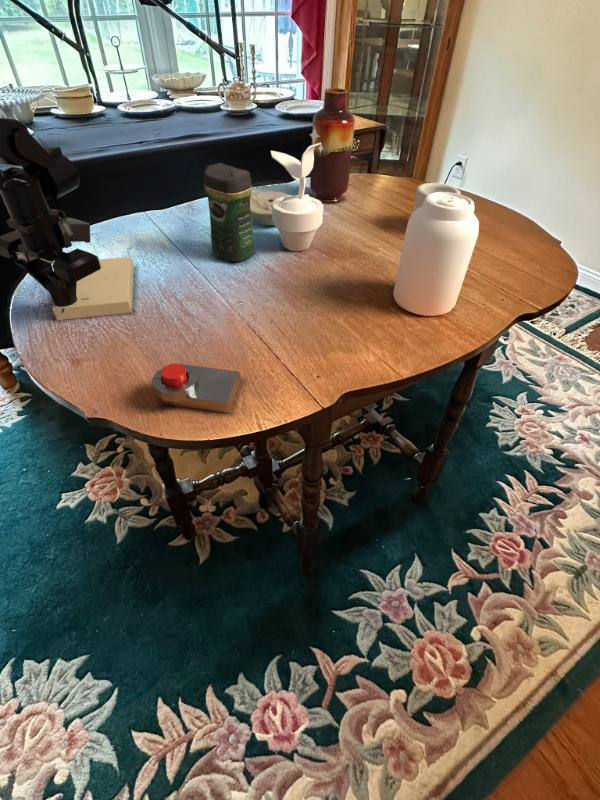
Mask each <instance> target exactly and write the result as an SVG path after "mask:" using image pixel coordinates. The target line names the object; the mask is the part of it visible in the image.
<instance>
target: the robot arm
mask: <svg viewBox="0 0 600 800" xmlns="http://www.w3.org/2000/svg"><path fill="white" fill-rule="evenodd" d="M0 165H9V166H10V167H8V168H5V169H0V195H1V198H2V199H3V200H2V201H3V203H4V205H5V207H6V209H7V212H8V214H9V216H10V218H9V219H6V223H7V226H8V227H9V228H11V229H13V231H10V232H7V233H5V234H3V235H0V256H2V257H4V258H7V259H9V260H10V259H12V258H13V257H14V254H16V257H17V259H15V260H14V263H15V264H16V265H17V266H19V268H21V269H22V270H23V271H24V272H25V273H27V274H28V275H29V276H30V277H31V278H33V279H34V280H35V281H36V282H37V283H38V284H39V285H40V286H42V288H44V289H45V290H46V291H47V292H48V293H49V291H48V288H47V286H46V281H47V280H48V279H50V280H51V281H52V282H53V283H54V285H55V286H56V287H57V288H58V290H59V291H60V292H61V293H62V294H63V296H64V297H65V298H66V299H67V300H68V301H69V302H70V303H73V302H75V301H76V287H77V281H79V280H81V279H83V278H85V277H87V276H88V275H90V274H92V273H94V272H96V271H98V270H100V269H101V265H100V262H99V259H100V258H99V256H98V255H96V254H94V253H92V252H90V251H86V250H84V249H81V248H75V249H73V250H71V251H69V252H65V251H64V249H68V248H71V247H73V243H81V242H82V243H86V244H89V243H91V223H90V222H86V221H83V220H81V219H76V218H73V217H69V216H68V217H67V215H66V212H64V211H62V210H59V209H51V208H50V205H49V202H52V201H56V200H57V199H59V198H61V197H63V196H65V195H66V194H68V193H71V192H72V191H74V190H76V189H78V187H79V186H80V183H81V174H80V172H79V170H78V168H77V167H76V165H75V164H74V163H73V162H72V160H70V159H69V157H67V156H66V155H64V154H63V152H62V148H61V147H60V146H57V145H55V146H54V145H48V146H44V147H43V146H42V145H41V144H40V143H39V142H38V141H37V140H36V138H35V137H34V136H33V135H32V134H31V133H30V131H29V129H28V126H27V125H26V124H25V123H23V122H22V121H21V120H19V119H15V118H7V117H0ZM21 167H22V168H21ZM48 201H49V202H48Z"/></svg>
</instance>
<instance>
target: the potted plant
mask: <svg viewBox="0 0 600 800" xmlns="http://www.w3.org/2000/svg"><path fill="white" fill-rule="evenodd" d="M308 135H309V136H310V137H311V140H312V139H313V145H312V144H311V145H309V146H308V147H307V148H306V150H305V151H303V153H302V155H301V160H299V159H297V158H296V157H294V156H292V155H289V154H287V153H284V152H281V151H275V150H270V154H271V158H272V159H273V160H275V161H276V162H277V163H279V164H280V165H281V166H282V167H284V168H285V170H286V172H287V173H289V175H290V176H291V178H292V179H293V180H295V181H299V185H298V191H297V194H294V195H291V194H290V195H291V196H284V197H280V198H277V199H276V200H275V201H274V202H273V203H272V221H273V224H274V225H273V226H274V227H276V228H277V230H278V233H279V237H280V240H281V243H282V245H283V248H285V249H287V250H289V251H293V252H303V251H306V250H307V249H309V248H310V247H311V245H312V242H313V241H314V238H315V234H316V232H317V229H319V228H320V227H321V225H322V224H323V216H324V203H322V202H321V201H319V200H317V199H315V198H313V196H310V195H309V194H308V193H307V194H305V191H306V184H307V180H306V177H307V176H310V174H311V170H312V169H313V163H314V153H313V151H314V148H315V146H317V145H320V144H321V143H318V144H314V142H315V139H316V138H317V137H320V136H319V135H317V133H316V129H315V127H314V131H313V133H312V132H311V133H310V134H308ZM322 149H324V148H322V146H321V145H320V147H319V150H320V152H321V150H322Z"/></svg>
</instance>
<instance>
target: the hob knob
mask: <svg viewBox="0 0 600 800" xmlns="http://www.w3.org/2000/svg"><path fill="white" fill-rule="evenodd" d="M46 286H47V288H48V291H49V292H48V291H47V292H48V293H49V296H50V298H51V300H52V302H53V305H54V304H55V305H56V306H59V307H65V306H69V305H72V304H74V303H75V302H76V301H77V296H76V301H75V302H73V303H70V302H69V301H68V300H67V299H66V298H65V297H64V296H63V294H62V293H61V292H60V291H59V290H58V288H57V287H56V286H55V285H54V283H53V282H52V281H51V280H50V279H48V280H47V281H46Z"/></svg>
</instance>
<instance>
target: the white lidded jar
mask: <svg viewBox="0 0 600 800" xmlns="http://www.w3.org/2000/svg"><path fill="white" fill-rule="evenodd" d="M412 211H413V210H412ZM479 227H480V220H478V217H477V216H476V215H475V202H474V200H472V199H471V198H470V197H468V196H467V195H463V194H457V193H452V192H435V193H431V194H429V195H427V196H426V198H425V199H424V202H423V205H422V206H421V207H419V208H418V209H416V210H415V211H413V213H412V212H411V215H410V217H409V219H408V222H407V225H406V229H405V233H404V234H405V235H404V239H403V244H402V247H401V248H402V249H401V254H400V259H399V263H398V268H397V272H396V278H395V283H394V288H393V291H392V292H393V293H392V294H393V298H394V301H395V303H396V304H397V305H398V306H399V307H400V308H402V309H404V310H405V311H407V312H410V313H413V314H414V315H415V314H416V315H421V316H425V317H429V316H430V317H436V316H442V315H443V316H444V315H445V314H447V313H449V312H451V311H452V310H453V308H454V307H455V306H456V305H457V301H458V299H459V295H460V292H461V288H462V286H463V282H464V280H465V277H466V273H467V271H468V268H469V266H470V265H469V264H470V262H471V258H472V255H473V252H474V249H475V246H476V243H477V240H478V237H479V231H480V230H479V229H480V228H479Z"/></svg>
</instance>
